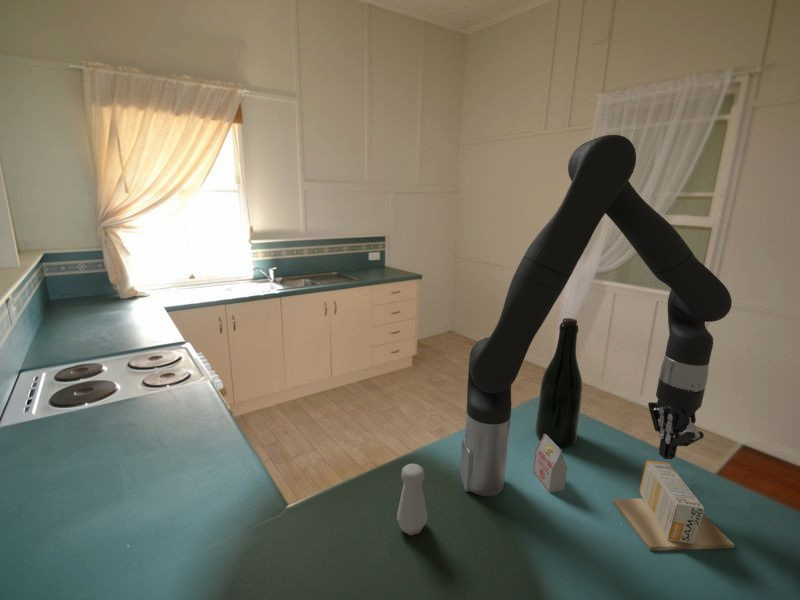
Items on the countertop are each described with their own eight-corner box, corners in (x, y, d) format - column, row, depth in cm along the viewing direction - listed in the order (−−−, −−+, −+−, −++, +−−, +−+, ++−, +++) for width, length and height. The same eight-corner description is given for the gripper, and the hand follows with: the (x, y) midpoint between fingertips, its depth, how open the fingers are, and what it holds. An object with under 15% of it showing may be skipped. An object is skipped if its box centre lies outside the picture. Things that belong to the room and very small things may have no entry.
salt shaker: (430, 520, 79) (432, 462, 76) (422, 542, 74) (424, 482, 71) (402, 512, 81) (403, 456, 78) (392, 533, 76) (393, 474, 73)
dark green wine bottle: (564, 453, 101) (581, 328, 93) (527, 435, 108) (539, 318, 100) (583, 438, 108) (600, 320, 100) (546, 421, 115) (559, 311, 107)
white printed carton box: (547, 470, 95) (552, 432, 92) (564, 490, 88) (569, 450, 86) (533, 472, 94) (537, 434, 91) (548, 492, 88) (554, 452, 85)
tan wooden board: (649, 550, 73) (650, 547, 73) (612, 502, 85) (613, 499, 85) (733, 547, 74) (734, 544, 74) (685, 500, 86) (686, 497, 86)
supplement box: (661, 494, 86) (695, 545, 74) (637, 491, 87) (667, 541, 74) (670, 461, 84) (706, 508, 72) (645, 458, 85) (677, 504, 72)
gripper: (642, 366, 85) (629, 438, 89) (689, 396, 72) (671, 479, 77) (676, 366, 86) (661, 438, 90) (728, 396, 73) (708, 478, 77)
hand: (666, 456), depth 83 cm, fingers closed
